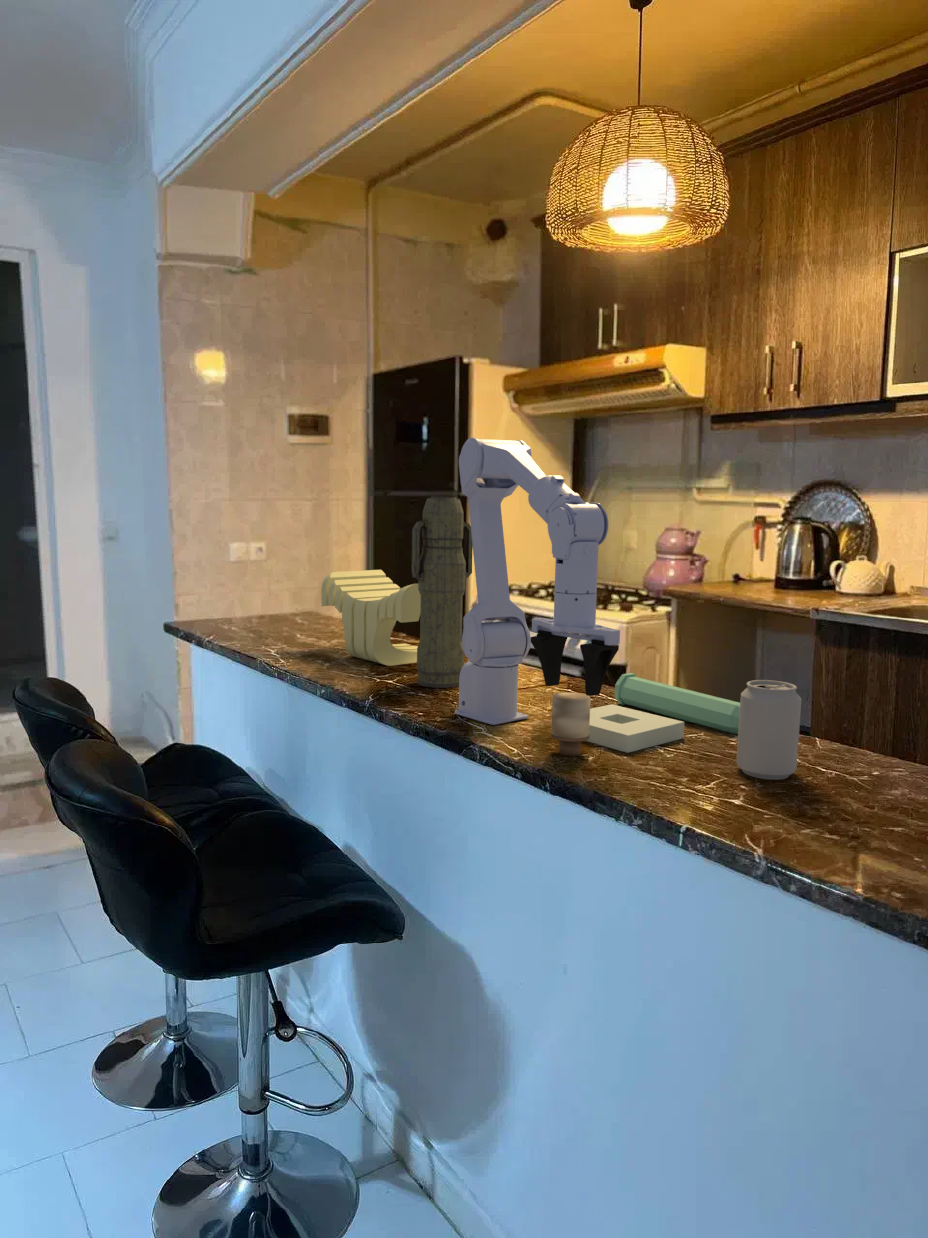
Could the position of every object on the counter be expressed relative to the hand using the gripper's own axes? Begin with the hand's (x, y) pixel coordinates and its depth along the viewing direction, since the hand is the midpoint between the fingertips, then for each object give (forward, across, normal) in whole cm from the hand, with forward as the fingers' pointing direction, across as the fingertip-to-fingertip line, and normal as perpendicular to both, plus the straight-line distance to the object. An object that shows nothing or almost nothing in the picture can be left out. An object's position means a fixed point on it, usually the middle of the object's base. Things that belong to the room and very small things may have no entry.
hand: (572, 690), depth 126 cm
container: (+9, -3, +30) cm, 32 cm away
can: (+9, +22, +14) cm, 28 cm away
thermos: (+9, -47, +15) cm, 50 cm away
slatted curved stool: (+9, -73, +22) cm, 77 cm away
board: (+9, -2, +13) cm, 16 cm away
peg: (+9, 0, 0) cm, 9 cm away
